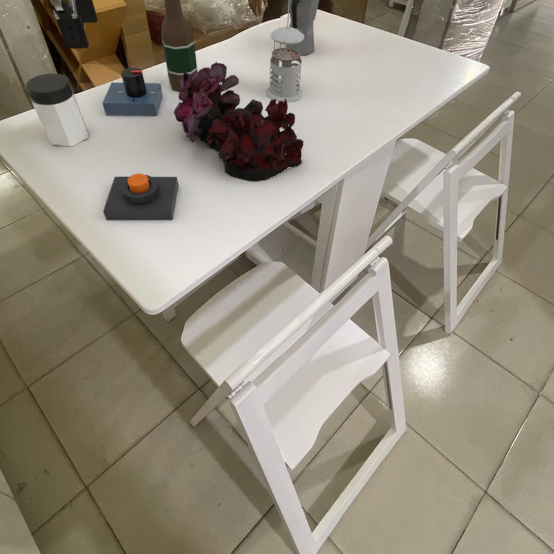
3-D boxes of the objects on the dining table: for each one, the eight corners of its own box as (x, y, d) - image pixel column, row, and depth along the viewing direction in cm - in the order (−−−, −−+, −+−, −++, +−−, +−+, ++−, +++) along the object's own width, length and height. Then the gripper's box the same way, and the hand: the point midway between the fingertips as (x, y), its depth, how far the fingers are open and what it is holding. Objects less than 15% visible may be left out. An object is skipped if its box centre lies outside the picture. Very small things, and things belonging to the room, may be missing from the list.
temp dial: (124, 97, 94) (118, 75, 90) (128, 87, 97) (122, 66, 93) (145, 97, 95) (140, 76, 91) (148, 87, 98) (143, 66, 94)
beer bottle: (163, 84, 105) (143, -27, 86) (188, 75, 109) (173, -33, 90) (180, 96, 102) (163, -17, 83) (205, 86, 105) (194, -24, 86)
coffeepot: (292, 38, 127) (297, -31, 113) (320, 44, 125) (328, -26, 111) (275, 57, 118) (277, -15, 103) (305, 64, 116) (311, -10, 102)
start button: (128, 193, 73) (125, 185, 71) (131, 181, 75) (129, 173, 73) (148, 193, 73) (146, 186, 71) (151, 181, 75) (149, 173, 74)
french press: (272, 104, 101) (275, -13, 81) (258, 83, 108) (258, -31, 88) (308, 99, 103) (320, -17, 84) (292, 78, 110) (300, -33, 90)
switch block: (106, 220, 73) (99, 203, 70) (117, 185, 79) (111, 168, 76) (172, 220, 74) (168, 203, 71) (178, 185, 80) (175, 169, 77)
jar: (48, 129, 90) (23, 75, 81) (85, 122, 93) (66, 69, 83) (51, 151, 86) (25, 96, 76) (91, 143, 88) (71, 89, 78)
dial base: (106, 115, 95) (101, 102, 93) (114, 94, 101) (111, 81, 99) (157, 115, 96) (154, 103, 93) (162, 95, 102) (160, 82, 99)
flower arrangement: (314, 154, 88) (323, 87, 77) (254, 198, 79) (254, 129, 67) (215, 104, 100) (209, 39, 88) (152, 136, 90) (136, 68, 78)
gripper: (19, -132, 53) (67, 13, 67) (-21, -107, 43) (46, 59, 56) (78, -131, 54) (114, 13, 68) (52, -106, 44) (101, 58, 57)
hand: (83, 34), depth 62 cm, fingers open, 9 cm apart
